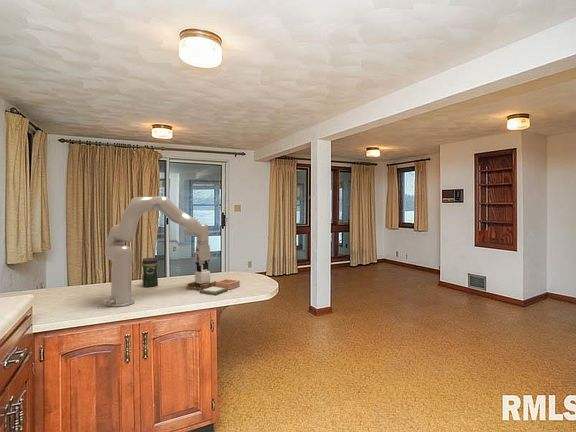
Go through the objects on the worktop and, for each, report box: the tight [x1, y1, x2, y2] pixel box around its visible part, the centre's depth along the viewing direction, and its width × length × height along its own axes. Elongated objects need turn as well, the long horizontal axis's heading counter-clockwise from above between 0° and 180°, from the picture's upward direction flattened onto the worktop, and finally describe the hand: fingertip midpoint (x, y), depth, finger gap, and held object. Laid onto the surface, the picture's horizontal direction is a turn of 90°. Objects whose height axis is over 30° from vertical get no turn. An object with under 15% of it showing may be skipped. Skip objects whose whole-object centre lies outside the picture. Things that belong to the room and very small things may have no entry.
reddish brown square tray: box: [215, 278, 241, 291], centre depth 218 cm, size 11×11×4 cm
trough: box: [185, 280, 217, 292], centre depth 218 cm, size 17×12×3 cm
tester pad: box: [203, 286, 224, 292], centre depth 205 cm, size 9×9×1 cm
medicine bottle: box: [194, 263, 211, 285], centre depth 218 cm, size 7×7×12 cm
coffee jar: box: [141, 257, 159, 288], centre depth 220 cm, size 10×8×19 cm
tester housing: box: [199, 288, 229, 296], centre depth 205 cm, size 12×12×2 cm
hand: (202, 270), depth 218 cm, fingers closed on medicine bottle, 6 cm apart
